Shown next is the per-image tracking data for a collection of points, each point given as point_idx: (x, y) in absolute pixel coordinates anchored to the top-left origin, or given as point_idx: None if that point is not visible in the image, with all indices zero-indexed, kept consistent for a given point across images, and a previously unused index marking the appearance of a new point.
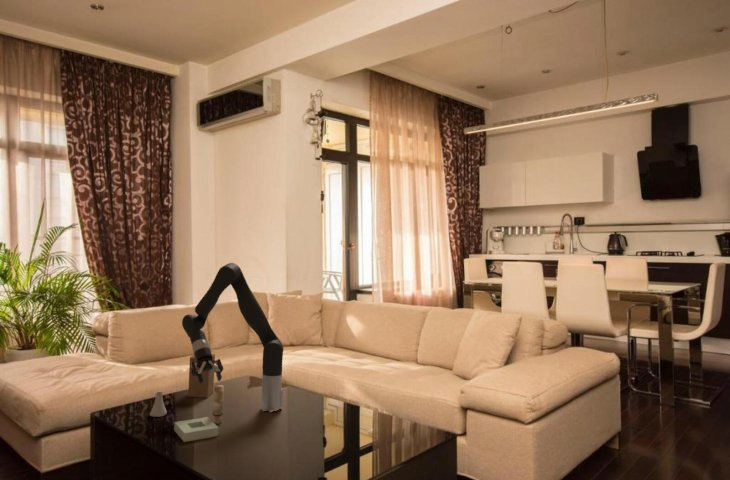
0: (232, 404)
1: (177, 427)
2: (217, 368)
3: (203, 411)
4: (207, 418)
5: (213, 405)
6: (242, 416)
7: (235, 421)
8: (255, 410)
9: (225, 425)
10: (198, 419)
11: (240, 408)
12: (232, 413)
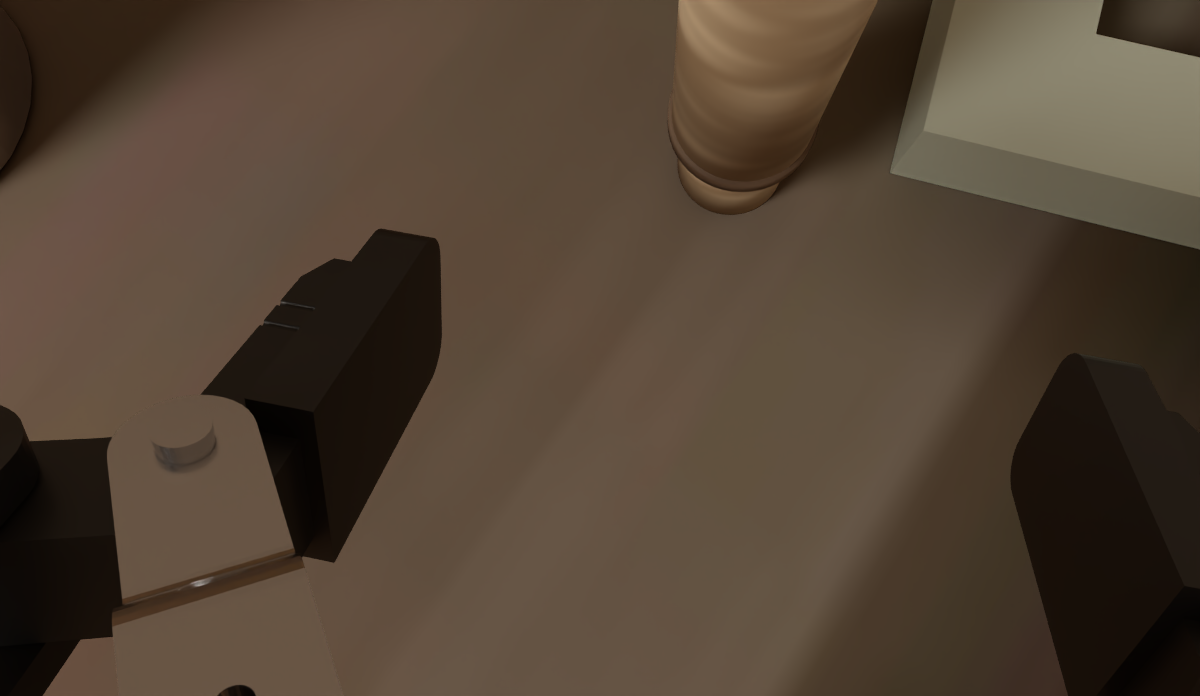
0: None
1: None
2: (171, 536)
3: (620, 669)
4: (959, 72)
5: (836, 85)
6: (348, 131)
7: (533, 42)
8: (68, 204)
9: None
10: (1088, 121)
11: None
12: None
